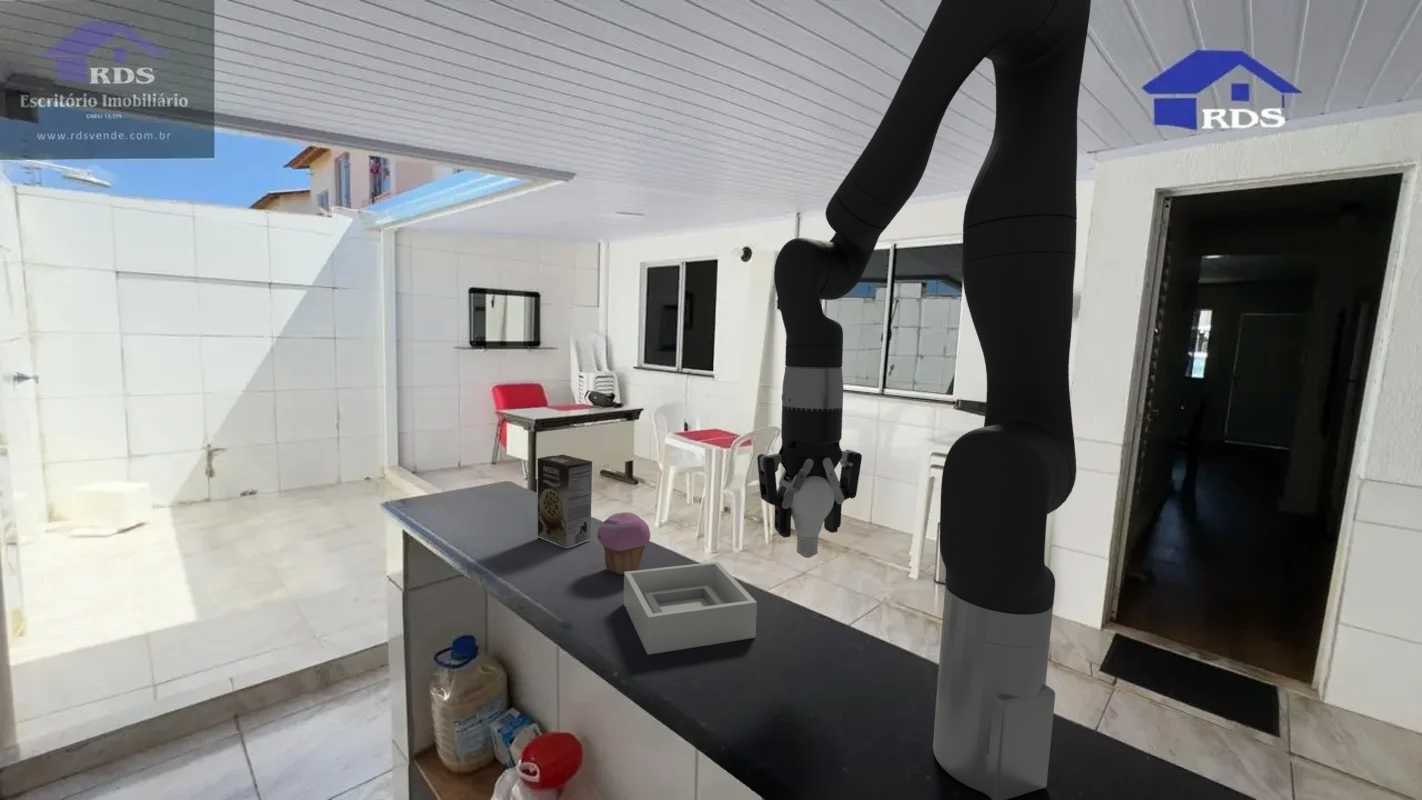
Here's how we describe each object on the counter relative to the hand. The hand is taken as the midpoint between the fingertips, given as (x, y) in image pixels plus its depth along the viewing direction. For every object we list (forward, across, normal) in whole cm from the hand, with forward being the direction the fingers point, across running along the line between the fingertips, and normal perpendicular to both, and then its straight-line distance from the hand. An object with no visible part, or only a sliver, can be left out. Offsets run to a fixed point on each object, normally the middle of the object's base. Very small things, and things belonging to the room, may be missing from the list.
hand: (807, 532), depth 76 cm
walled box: (+16, -12, +12) cm, 23 cm away
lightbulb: (+3, 0, 0) cm, 3 cm away
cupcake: (+15, -17, +32) cm, 40 cm away
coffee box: (+15, -25, +50) cm, 58 cm away
